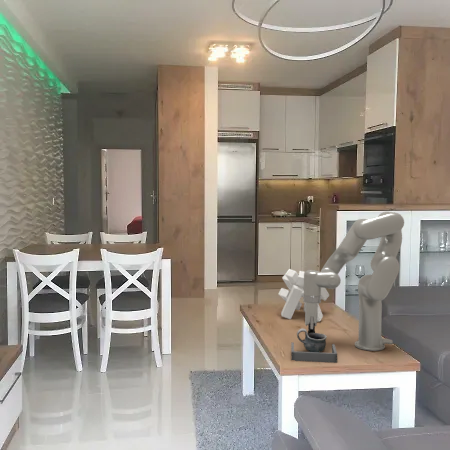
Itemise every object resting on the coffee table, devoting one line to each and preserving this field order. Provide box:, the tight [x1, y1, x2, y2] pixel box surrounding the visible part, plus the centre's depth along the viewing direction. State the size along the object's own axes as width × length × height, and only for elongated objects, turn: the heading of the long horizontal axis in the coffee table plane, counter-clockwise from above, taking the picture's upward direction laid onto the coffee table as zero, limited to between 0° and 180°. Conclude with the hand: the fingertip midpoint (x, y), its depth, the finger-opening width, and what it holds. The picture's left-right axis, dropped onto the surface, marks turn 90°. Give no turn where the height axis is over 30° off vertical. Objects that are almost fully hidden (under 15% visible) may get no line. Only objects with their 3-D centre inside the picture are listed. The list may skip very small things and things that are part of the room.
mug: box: [296, 328, 328, 353], centre depth 207 cm, size 10×12×10 cm
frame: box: [290, 342, 338, 364], centre depth 202 cm, size 18×13×4 cm
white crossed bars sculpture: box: [277, 268, 330, 323], centre depth 268 cm, size 35×30×35 cm
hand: (311, 340), depth 215 cm, fingers closed
